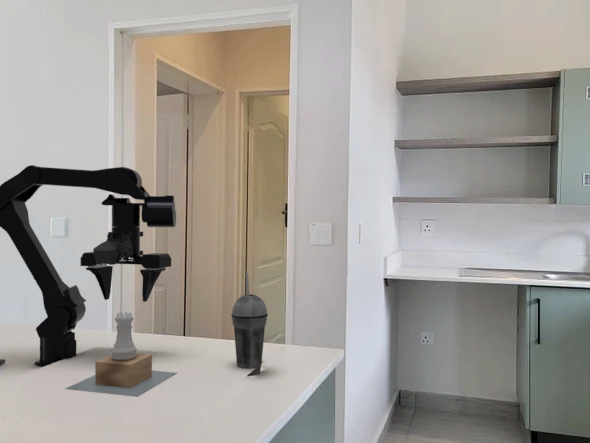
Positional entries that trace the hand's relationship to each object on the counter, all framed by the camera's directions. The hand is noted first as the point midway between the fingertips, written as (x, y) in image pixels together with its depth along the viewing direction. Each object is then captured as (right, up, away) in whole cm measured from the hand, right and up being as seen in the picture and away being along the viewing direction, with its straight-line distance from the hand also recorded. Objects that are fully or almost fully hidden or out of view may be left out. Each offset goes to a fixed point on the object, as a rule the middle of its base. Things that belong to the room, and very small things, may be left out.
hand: (125, 300), depth 116 cm
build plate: (+5, -13, -18) cm, 23 cm away
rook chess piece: (+5, -8, -18) cm, 20 cm away
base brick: (+5, -12, -18) cm, 22 cm away
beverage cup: (+27, -14, -7) cm, 31 cm away
